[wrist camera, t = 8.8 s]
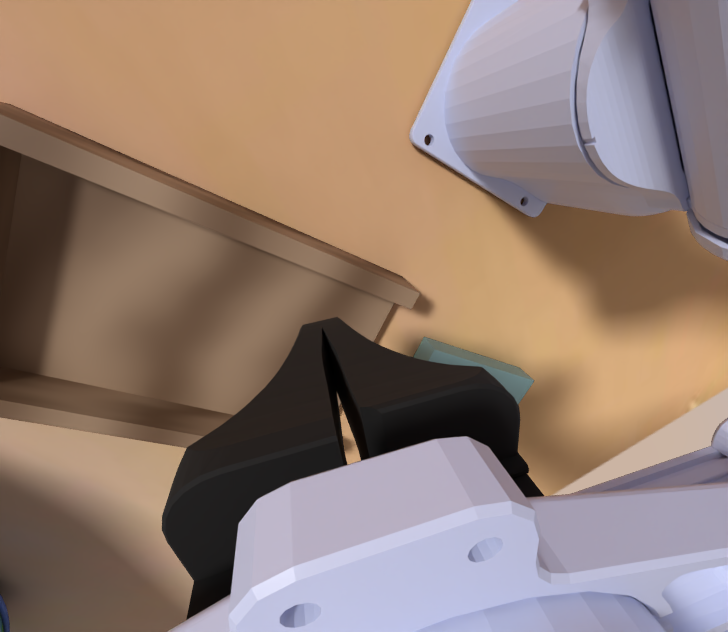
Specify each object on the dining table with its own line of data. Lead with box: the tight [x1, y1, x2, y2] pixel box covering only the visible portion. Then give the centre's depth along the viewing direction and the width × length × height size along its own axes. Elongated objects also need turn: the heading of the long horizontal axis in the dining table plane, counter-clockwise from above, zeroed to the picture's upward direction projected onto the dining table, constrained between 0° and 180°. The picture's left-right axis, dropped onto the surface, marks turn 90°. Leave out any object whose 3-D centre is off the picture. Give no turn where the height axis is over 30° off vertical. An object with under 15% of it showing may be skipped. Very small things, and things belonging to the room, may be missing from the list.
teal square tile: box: [414, 337, 534, 404], centre depth 25 cm, size 9×8×2 cm
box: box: [0, 102, 420, 448], centre depth 18 cm, size 19×13×3 cm
